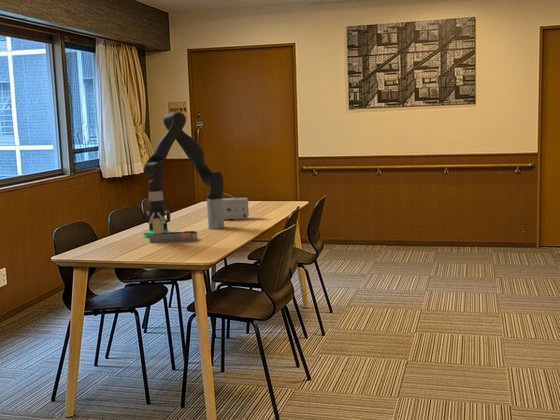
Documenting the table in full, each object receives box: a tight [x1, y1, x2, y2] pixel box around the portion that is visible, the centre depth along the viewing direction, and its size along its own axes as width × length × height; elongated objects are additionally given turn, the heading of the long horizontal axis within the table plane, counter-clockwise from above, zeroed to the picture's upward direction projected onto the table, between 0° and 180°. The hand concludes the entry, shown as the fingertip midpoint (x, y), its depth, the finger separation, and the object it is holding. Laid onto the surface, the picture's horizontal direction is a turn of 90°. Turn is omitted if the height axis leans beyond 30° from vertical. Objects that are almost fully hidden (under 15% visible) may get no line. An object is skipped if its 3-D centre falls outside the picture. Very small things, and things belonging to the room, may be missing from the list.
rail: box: [148, 230, 198, 243], centre depth 359 cm, size 8×24×4 cm, turn 81°
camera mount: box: [143, 222, 170, 237], centre depth 375 cm, size 12×8×10 cm, turn 69°
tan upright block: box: [153, 218, 164, 234], centre depth 360 cm, size 4×4×11 cm
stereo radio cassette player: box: [223, 192, 250, 221], centre depth 424 cm, size 21×8×20 cm, turn 84°
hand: (158, 230), depth 360 cm, fingers open, 7 cm apart
